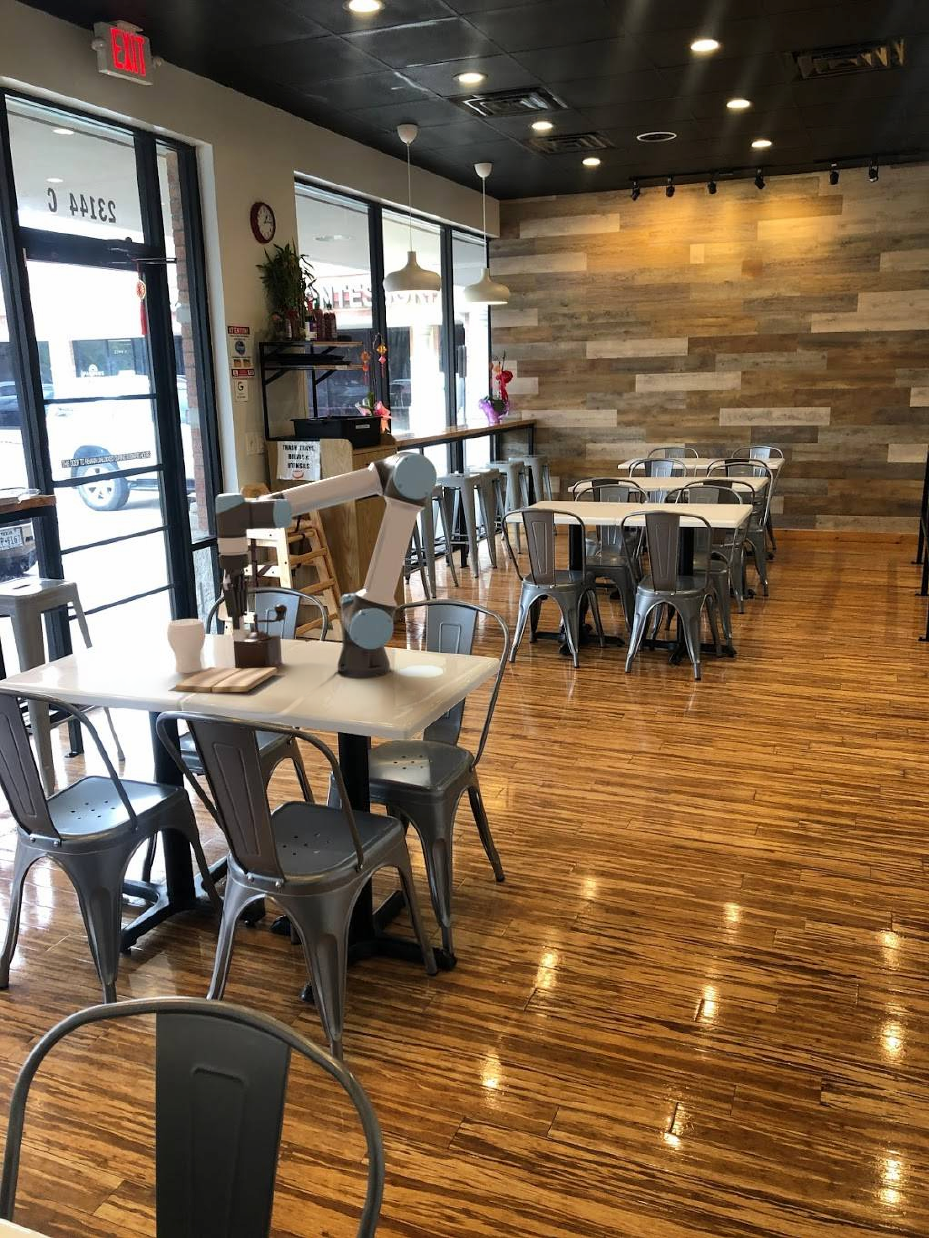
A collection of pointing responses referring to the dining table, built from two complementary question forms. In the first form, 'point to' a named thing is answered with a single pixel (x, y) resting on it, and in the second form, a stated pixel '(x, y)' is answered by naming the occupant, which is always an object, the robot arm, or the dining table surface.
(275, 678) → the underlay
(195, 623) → the cup
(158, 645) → the dining table surface
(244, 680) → the plank
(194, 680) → the plank
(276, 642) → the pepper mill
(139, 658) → the dining table surface
